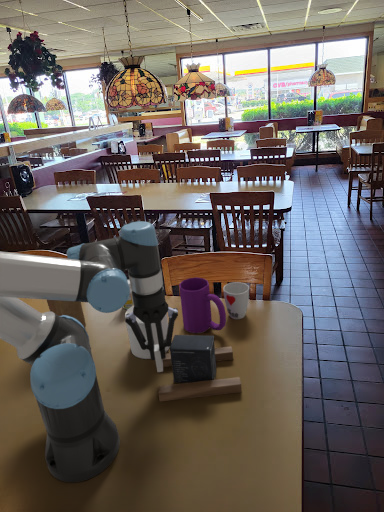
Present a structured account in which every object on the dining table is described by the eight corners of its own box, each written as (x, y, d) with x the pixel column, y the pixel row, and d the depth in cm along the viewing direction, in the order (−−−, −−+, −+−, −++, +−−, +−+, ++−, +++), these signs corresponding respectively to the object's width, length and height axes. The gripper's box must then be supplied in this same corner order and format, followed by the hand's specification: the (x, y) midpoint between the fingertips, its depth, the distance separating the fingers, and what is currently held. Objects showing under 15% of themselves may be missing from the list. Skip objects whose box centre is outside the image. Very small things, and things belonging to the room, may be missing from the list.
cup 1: (161, 362, 106) (155, 325, 101) (124, 356, 110) (117, 320, 105) (176, 337, 116) (172, 303, 111) (141, 332, 120) (136, 299, 115)
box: (216, 367, 101) (214, 335, 97) (213, 385, 96) (211, 351, 91) (178, 365, 103) (174, 333, 99) (172, 382, 98) (168, 349, 93)
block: (90, 335, 121) (77, 279, 113) (68, 346, 116) (54, 288, 108) (73, 323, 128) (60, 270, 120) (52, 333, 123) (37, 278, 116)
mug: (195, 315, 126) (191, 274, 121) (234, 329, 117) (232, 286, 111) (177, 328, 120) (172, 286, 114) (217, 344, 111) (214, 299, 105)
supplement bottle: (133, 300, 139) (129, 277, 135) (141, 306, 135) (137, 281, 131) (120, 306, 136) (116, 282, 132) (128, 312, 132) (124, 287, 128)
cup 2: (220, 312, 126) (218, 286, 122) (241, 306, 129) (240, 279, 125) (233, 324, 119) (231, 296, 116) (254, 316, 122) (254, 289, 118)
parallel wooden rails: (241, 392, 92) (241, 384, 92) (159, 401, 92) (158, 393, 91) (231, 353, 106) (231, 346, 105) (160, 361, 106) (159, 354, 105)
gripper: (174, 277, 92) (184, 356, 101) (121, 283, 92) (136, 362, 101) (175, 292, 85) (186, 375, 94) (117, 298, 85) (134, 381, 94)
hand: (160, 368), depth 98 cm, fingers closed
